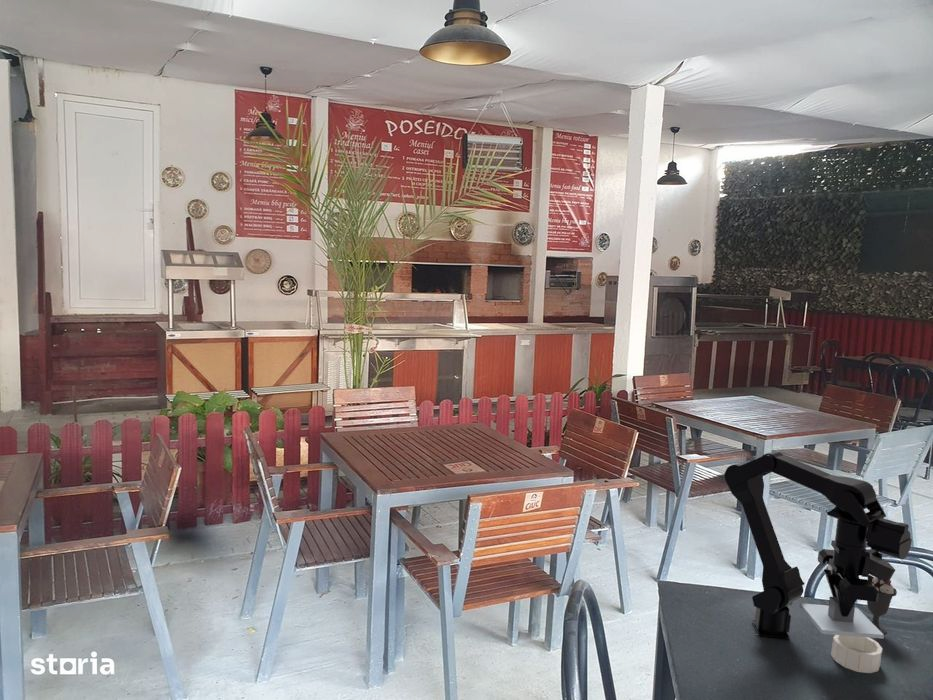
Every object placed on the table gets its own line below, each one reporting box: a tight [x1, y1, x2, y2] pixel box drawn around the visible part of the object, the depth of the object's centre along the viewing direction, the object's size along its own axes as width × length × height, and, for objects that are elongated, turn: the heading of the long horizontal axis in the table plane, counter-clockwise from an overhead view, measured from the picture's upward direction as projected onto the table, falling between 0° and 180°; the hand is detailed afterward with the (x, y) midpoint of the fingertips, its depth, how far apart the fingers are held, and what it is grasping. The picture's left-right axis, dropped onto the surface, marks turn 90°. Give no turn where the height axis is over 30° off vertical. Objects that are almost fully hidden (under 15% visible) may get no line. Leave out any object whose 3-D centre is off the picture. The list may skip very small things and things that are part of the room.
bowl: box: [830, 635, 883, 674], centre depth 156 cm, size 9×9×4 cm
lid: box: [799, 596, 885, 639], centre depth 153 cm, size 12×12×5 cm
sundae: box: [866, 574, 898, 635], centre depth 168 cm, size 7×7×15 cm
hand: (841, 612), depth 153 cm, fingers closed on lid, 3 cm apart
